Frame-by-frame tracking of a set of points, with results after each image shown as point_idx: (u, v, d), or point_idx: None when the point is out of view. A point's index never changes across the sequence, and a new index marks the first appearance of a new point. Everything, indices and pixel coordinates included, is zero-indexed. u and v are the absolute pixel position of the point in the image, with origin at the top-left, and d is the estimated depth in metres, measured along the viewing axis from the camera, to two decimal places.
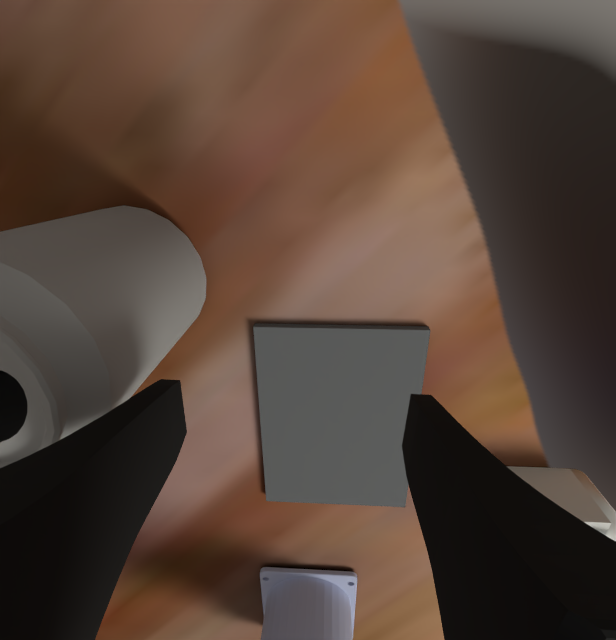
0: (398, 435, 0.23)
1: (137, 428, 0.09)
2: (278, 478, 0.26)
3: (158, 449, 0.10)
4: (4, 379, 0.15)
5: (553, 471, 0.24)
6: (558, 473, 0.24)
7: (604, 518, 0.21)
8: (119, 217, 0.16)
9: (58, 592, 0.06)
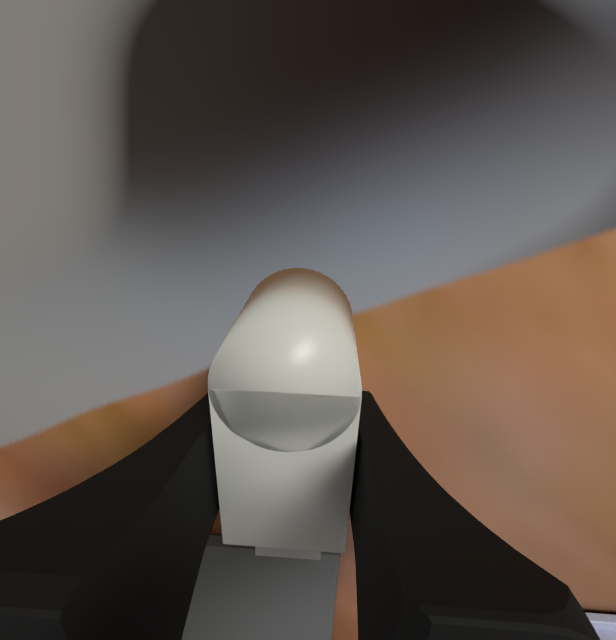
0: None
1: (211, 433, 0.09)
2: None
3: None
4: None
5: None
6: None
7: None
8: None
9: (158, 600, 0.06)
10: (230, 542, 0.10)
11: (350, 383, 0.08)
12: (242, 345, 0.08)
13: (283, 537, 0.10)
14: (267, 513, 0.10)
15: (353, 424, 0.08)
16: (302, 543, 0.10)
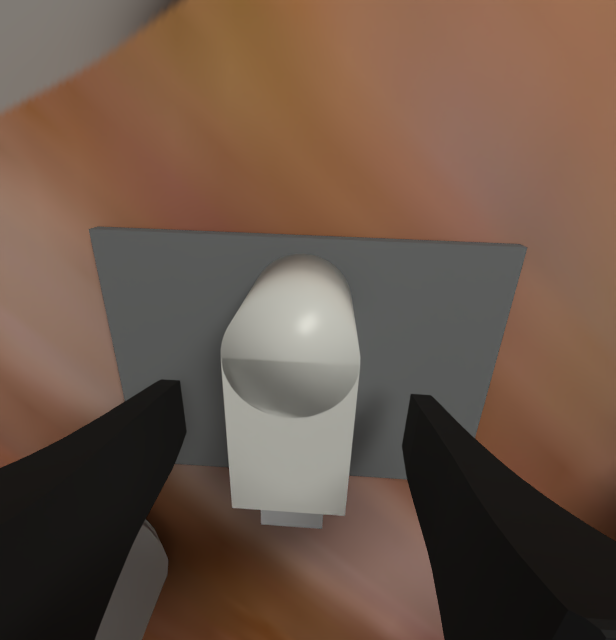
0: None
1: (137, 428, 0.09)
2: None
3: (158, 449, 0.10)
4: None
5: None
6: None
7: None
8: None
9: (58, 592, 0.07)
10: (239, 506, 0.11)
11: (349, 352, 0.09)
12: (253, 317, 0.08)
13: (288, 500, 0.11)
14: (273, 477, 0.10)
15: (352, 391, 0.09)
16: (305, 506, 0.11)
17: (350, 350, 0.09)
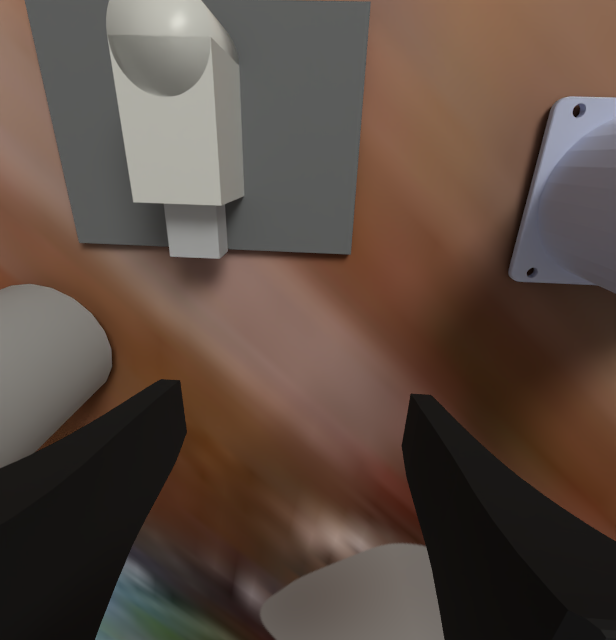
0: None
1: (137, 428, 0.09)
2: (306, 232, 0.18)
3: (158, 449, 0.10)
4: None
5: None
6: None
7: None
8: None
9: (58, 592, 0.06)
10: (138, 199, 0.14)
11: (201, 22, 0.12)
12: None
13: (175, 190, 0.14)
14: (161, 165, 0.13)
15: (208, 65, 0.12)
16: (190, 197, 0.14)
17: (201, 20, 0.12)
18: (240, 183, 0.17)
